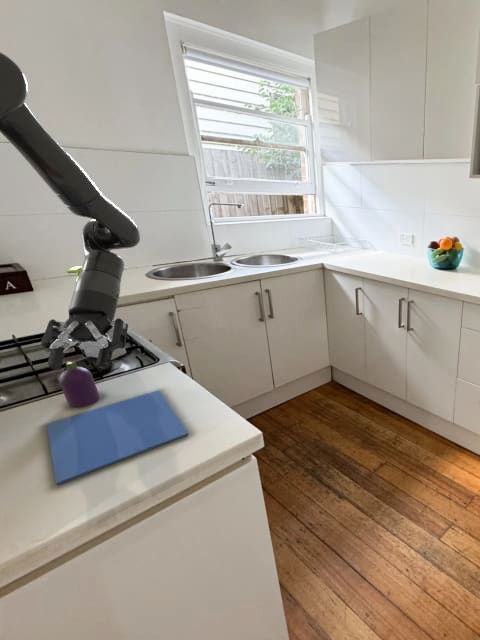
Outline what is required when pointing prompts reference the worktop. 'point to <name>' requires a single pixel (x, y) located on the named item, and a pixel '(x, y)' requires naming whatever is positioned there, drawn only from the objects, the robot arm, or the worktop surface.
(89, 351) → the medicine box
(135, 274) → the worktop surface
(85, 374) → the eggplant
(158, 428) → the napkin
